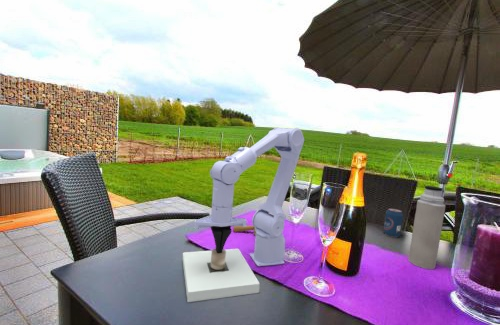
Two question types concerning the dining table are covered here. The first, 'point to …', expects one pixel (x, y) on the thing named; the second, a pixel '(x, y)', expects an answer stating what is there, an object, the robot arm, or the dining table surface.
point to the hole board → (217, 276)
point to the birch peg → (217, 261)
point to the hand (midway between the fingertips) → (218, 251)
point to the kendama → (244, 228)
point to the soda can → (393, 222)
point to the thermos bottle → (427, 228)
